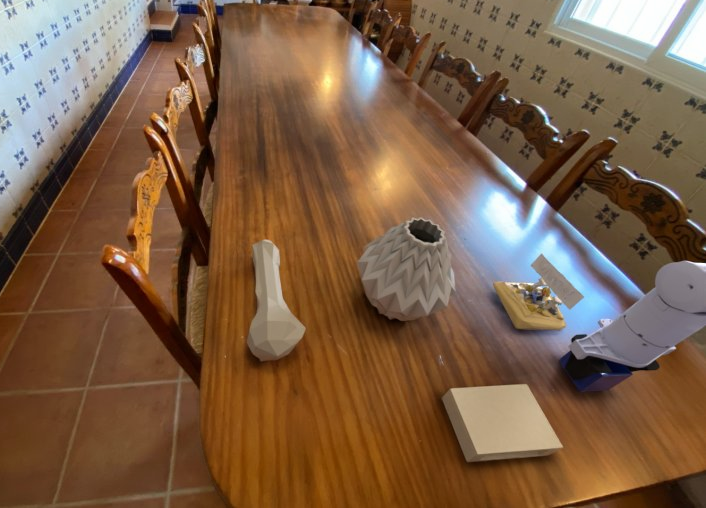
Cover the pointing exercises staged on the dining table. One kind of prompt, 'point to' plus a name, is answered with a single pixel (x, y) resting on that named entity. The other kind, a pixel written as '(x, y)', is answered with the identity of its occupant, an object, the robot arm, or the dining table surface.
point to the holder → (600, 376)
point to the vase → (408, 270)
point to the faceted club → (271, 308)
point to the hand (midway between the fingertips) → (586, 372)
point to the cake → (538, 298)
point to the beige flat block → (499, 423)
